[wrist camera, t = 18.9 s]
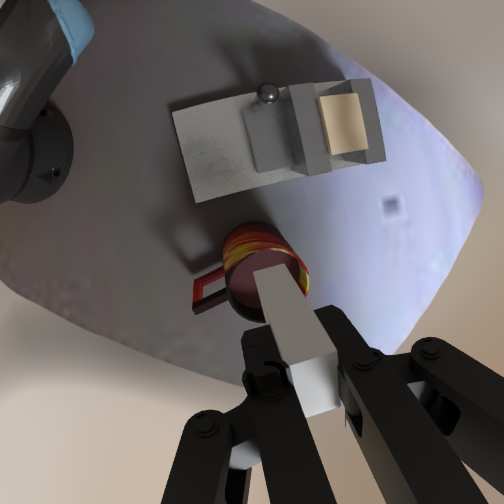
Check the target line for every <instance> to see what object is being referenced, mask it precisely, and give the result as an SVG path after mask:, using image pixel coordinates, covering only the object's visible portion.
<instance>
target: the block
mask: <svg viewBox="0 0 504 504" xmlns="http://www.w3.org/2000/svg"><path fill="white" fill-rule="evenodd" d="M317 101H318V105H319V109H320V114H321V118H322V123H323V127H324V132H325V137H326V141H327V146H328V151H329V155H335V154H341V153H346V152H352V151H358V150H364V149H369V148H368V143H367V137H366V132H365V126H364V121H363V116H362V112H361V107H360V103H359V98H358V94H357V93H351V94H340V95H330V96H321V97H318V98H317Z"/></svg>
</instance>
